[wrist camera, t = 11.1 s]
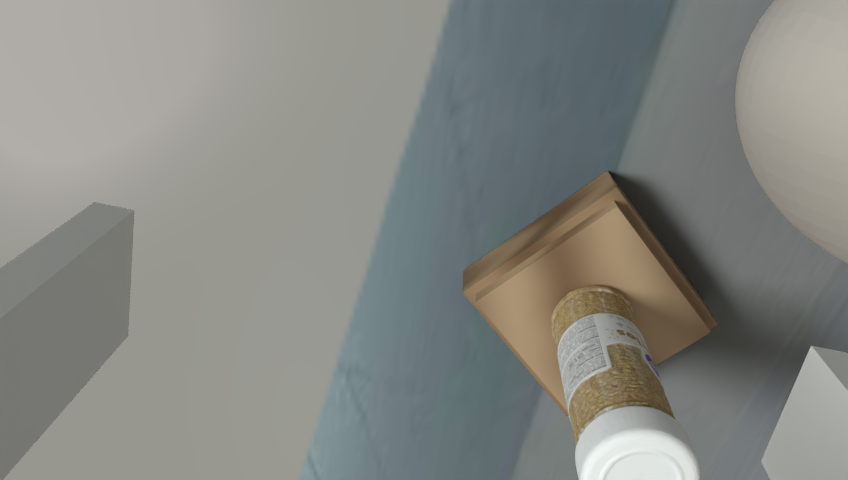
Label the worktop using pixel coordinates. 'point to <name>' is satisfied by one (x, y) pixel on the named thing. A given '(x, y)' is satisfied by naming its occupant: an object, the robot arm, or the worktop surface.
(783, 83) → the vase
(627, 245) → the pedestal
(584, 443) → the sprinkles bottle
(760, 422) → the worktop surface
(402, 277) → the worktop surface
